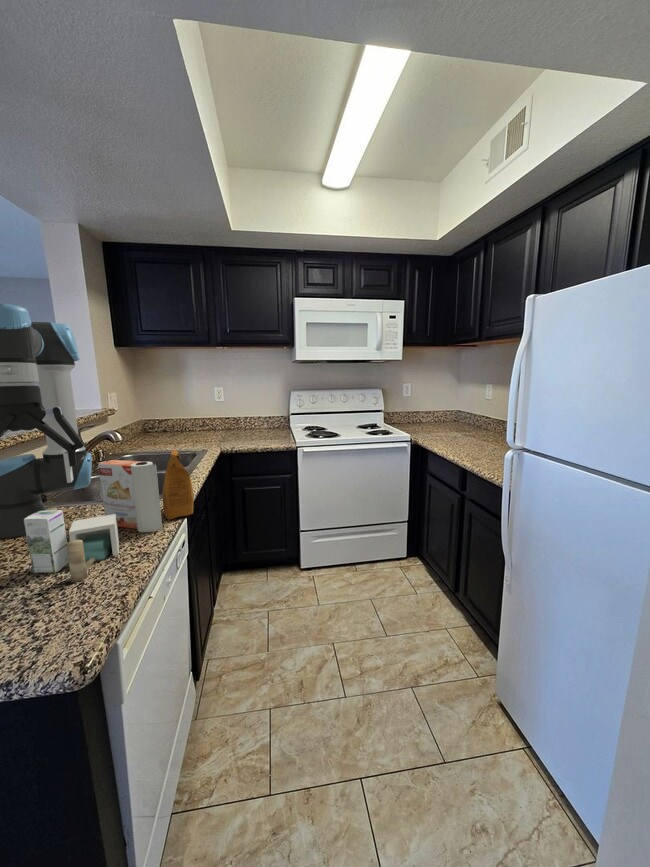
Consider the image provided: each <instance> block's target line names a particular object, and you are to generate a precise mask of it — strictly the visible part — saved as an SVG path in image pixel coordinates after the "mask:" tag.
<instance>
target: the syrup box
mask: <svg viewBox="0 0 650 867" xmlns="http://www.w3.org/2000/svg"><path fill="white" fill-rule="evenodd" d="M24 524H25V530H26V535H25V536H26V540H27V547H28V551H29V553H28V554H29V558H30V563H31V570H32V573H33V574H50V573H51V574H52V573H58V572H59V571H61V569H63V568H65V567H66V566H67V564H68V565H69V561H68V554H67V547H66V544H67V543H68V540H67V538H68V537H67V532H66V525H65V518H64V512H63V510H62V509H60V510H59V509H55V510H53V509H52V510H48V511H38V512H36V513H34V514H32V515H30V516H28V517H27V518H25V519H24Z"/></svg>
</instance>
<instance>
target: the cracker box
mask: <svg viewBox="0 0 650 867" xmlns="http://www.w3.org/2000/svg"><path fill="white" fill-rule="evenodd" d="M138 462H141V461H136V460H122V459H110V460H107V461H103V462H100V463H98V471H99V478H100V486H101V495H102V501H103V508H104V509H103V510H104V516H106V515H112V514H116V520H117V528H119V527H120V528H127V529H135V530H138V528H137V519H136V509H135V500H134V491H133V482H132V473H131V464H134V463H138Z"/></svg>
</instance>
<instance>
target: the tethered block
mask: <svg viewBox="0 0 650 867" xmlns="http://www.w3.org/2000/svg"><path fill="white" fill-rule="evenodd" d="M66 547H67V554H68V561H69V563H68V567H69V572H70V580H71V582H73V583H74V582H75V583H77V582H78V583H79V582H81V581H84V580H85V579H86V578H88V571H89V569H90V568H91V567H92V566H93V565H94V563H95V562H96V561H101V560H105V559H106V558H107V557H108V555H109V553H110V552H112V551H111V550H112V547H110V540H109V533H108V534H99V535H89V536H88V537H87V538H86V539H85V540H84V541H82V540H74V541H71V542H70V541H69V542H67V544H66Z"/></svg>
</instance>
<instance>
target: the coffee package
mask: <svg viewBox="0 0 650 867" xmlns="http://www.w3.org/2000/svg"><path fill="white" fill-rule="evenodd" d="M168 459H169V460H168V463H167V465H166V469H165V476H164V480H163V484H162V506H163V508H162V509H163V514H164V516H165V517H166V519H167V520H173V519H176V518H180V517H187V516H190V515H193V514H194V500H195V499H194V496H195V495H194V488H193V484H192V479H191V475H190V473H189V472H188V471H187V469H186V468H185V467H184V466H183V465H182V463H180V461H179V460H181V456H180V455H179V452H178V451H177V450H176V449H172V451H171V453H170V458H168Z"/></svg>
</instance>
